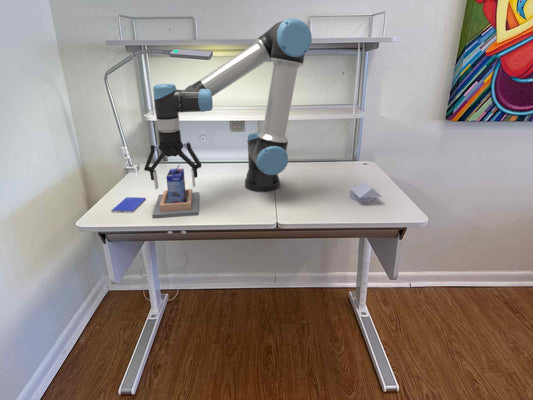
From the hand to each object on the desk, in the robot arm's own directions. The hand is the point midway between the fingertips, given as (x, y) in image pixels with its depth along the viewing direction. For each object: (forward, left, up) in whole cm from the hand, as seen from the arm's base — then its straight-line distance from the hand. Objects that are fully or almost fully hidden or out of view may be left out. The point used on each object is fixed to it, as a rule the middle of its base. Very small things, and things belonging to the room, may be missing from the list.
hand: (175, 186), depth 135 cm
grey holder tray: (0, 0, -8) cm, 8 cm away
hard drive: (+18, -3, -8) cm, 20 cm away
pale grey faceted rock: (-72, +6, -8) cm, 73 cm away
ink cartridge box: (0, 0, -7) cm, 7 cm away
